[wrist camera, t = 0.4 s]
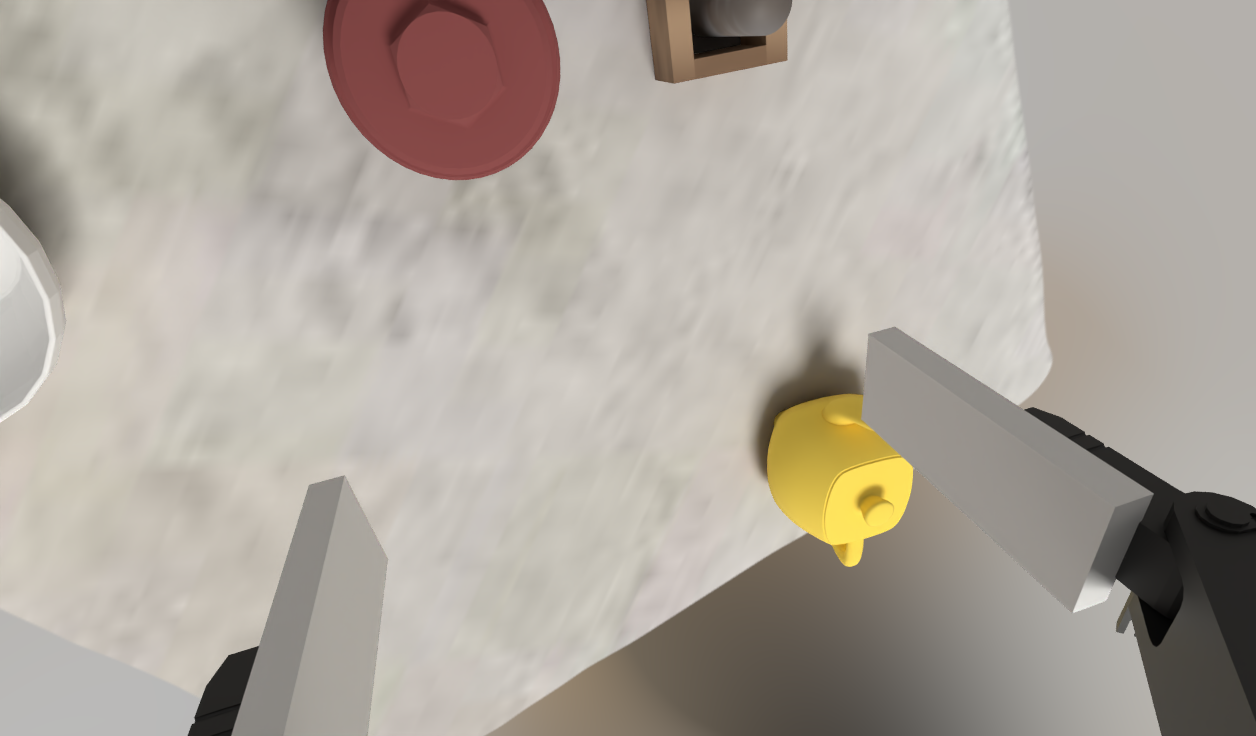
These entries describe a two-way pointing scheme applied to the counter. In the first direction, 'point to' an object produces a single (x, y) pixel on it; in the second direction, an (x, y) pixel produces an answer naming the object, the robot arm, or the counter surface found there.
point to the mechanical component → (445, 79)
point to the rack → (715, 8)
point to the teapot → (836, 474)
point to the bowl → (26, 314)
